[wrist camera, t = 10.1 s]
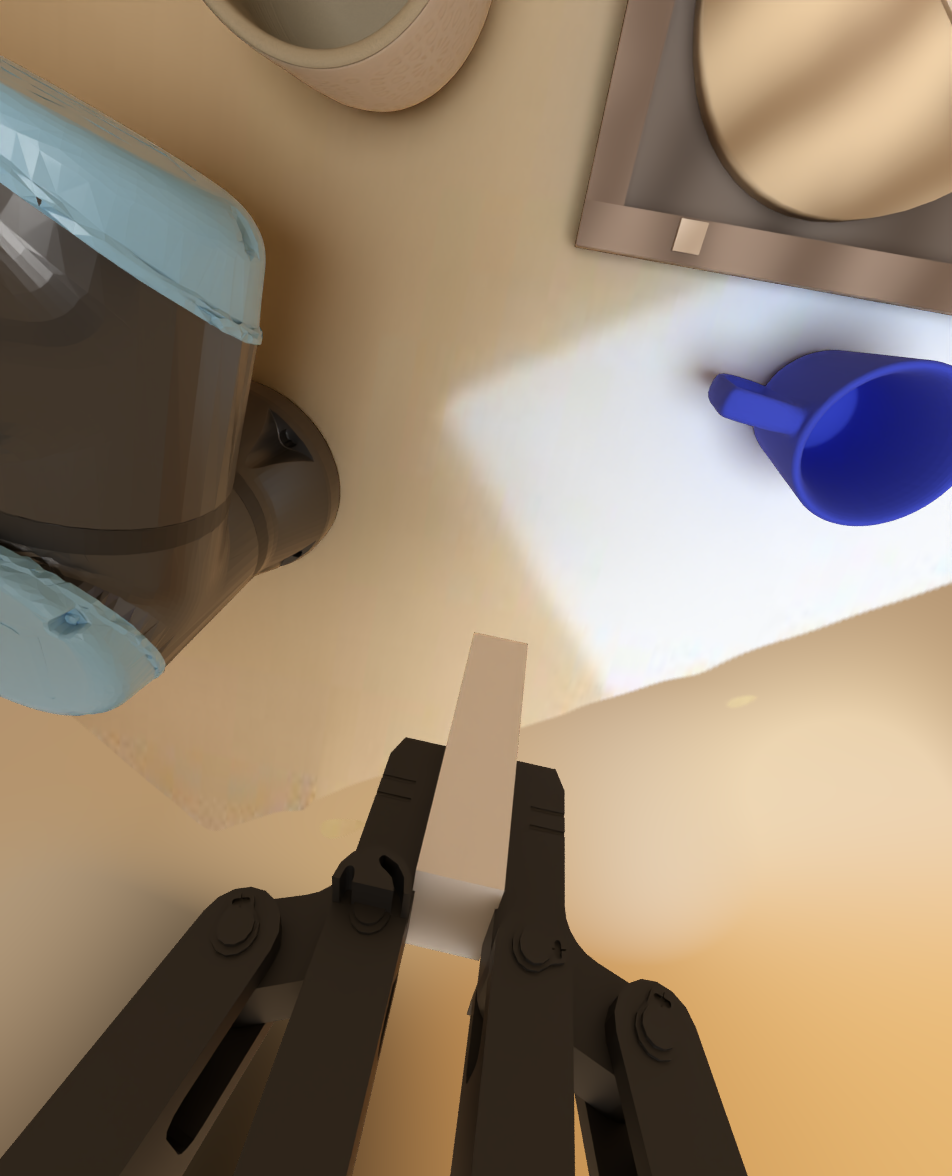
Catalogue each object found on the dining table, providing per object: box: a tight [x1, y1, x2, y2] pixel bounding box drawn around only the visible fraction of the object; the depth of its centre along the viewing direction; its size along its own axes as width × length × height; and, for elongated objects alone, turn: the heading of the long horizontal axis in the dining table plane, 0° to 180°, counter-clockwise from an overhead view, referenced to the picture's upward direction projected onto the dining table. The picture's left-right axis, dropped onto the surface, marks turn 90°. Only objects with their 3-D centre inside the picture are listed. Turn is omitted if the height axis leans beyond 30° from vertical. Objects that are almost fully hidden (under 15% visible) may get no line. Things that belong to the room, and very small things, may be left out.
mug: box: [708, 350, 952, 526], centre depth 29 cm, size 8×12×10 cm
